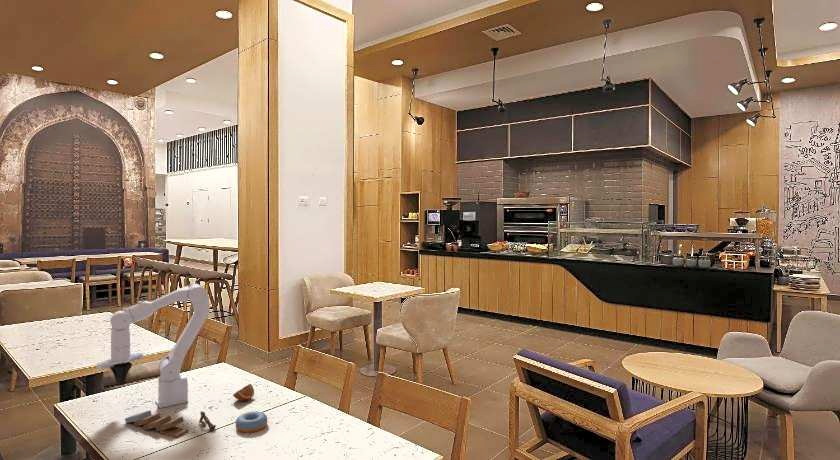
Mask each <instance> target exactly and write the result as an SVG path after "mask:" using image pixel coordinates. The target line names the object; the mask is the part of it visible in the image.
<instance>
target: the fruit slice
mask: <svg viewBox="0 0 840 460" xmlns="http://www.w3.org/2000/svg"><path fill="white" fill-rule="evenodd" d="M254 395H255V388H254V387H253V385H252V384H251V383H249V384H248V385H245V386H244V387H242V388H241V389H239V390H237V391H236V392H235V393H234V394H232V397H234V398H235V399H236V400H237V401H240V402H245V401H249V400H251V399H252V398H253V397H254Z"/></svg>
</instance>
